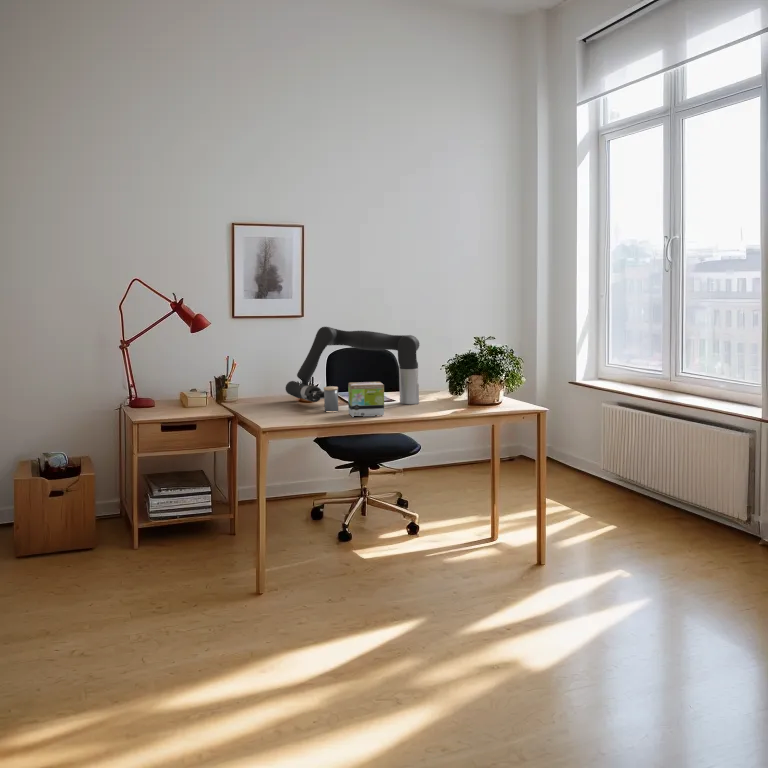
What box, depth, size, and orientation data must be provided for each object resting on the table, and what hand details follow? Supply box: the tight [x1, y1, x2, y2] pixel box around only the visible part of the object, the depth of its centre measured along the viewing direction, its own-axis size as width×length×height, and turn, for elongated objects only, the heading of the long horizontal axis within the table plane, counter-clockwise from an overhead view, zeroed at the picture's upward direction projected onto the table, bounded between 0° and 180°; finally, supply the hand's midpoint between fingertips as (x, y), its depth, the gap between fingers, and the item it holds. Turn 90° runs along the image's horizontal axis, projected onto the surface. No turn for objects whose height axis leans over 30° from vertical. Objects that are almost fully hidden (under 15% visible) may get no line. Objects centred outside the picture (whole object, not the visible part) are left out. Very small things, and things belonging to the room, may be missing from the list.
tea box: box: [347, 381, 385, 418], centre depth 364 cm, size 15×10×15 cm, turn 101°
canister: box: [323, 385, 339, 412], centre depth 376 cm, size 7×7×11 cm
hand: (327, 397), depth 379 cm, fingers open, 8 cm apart
